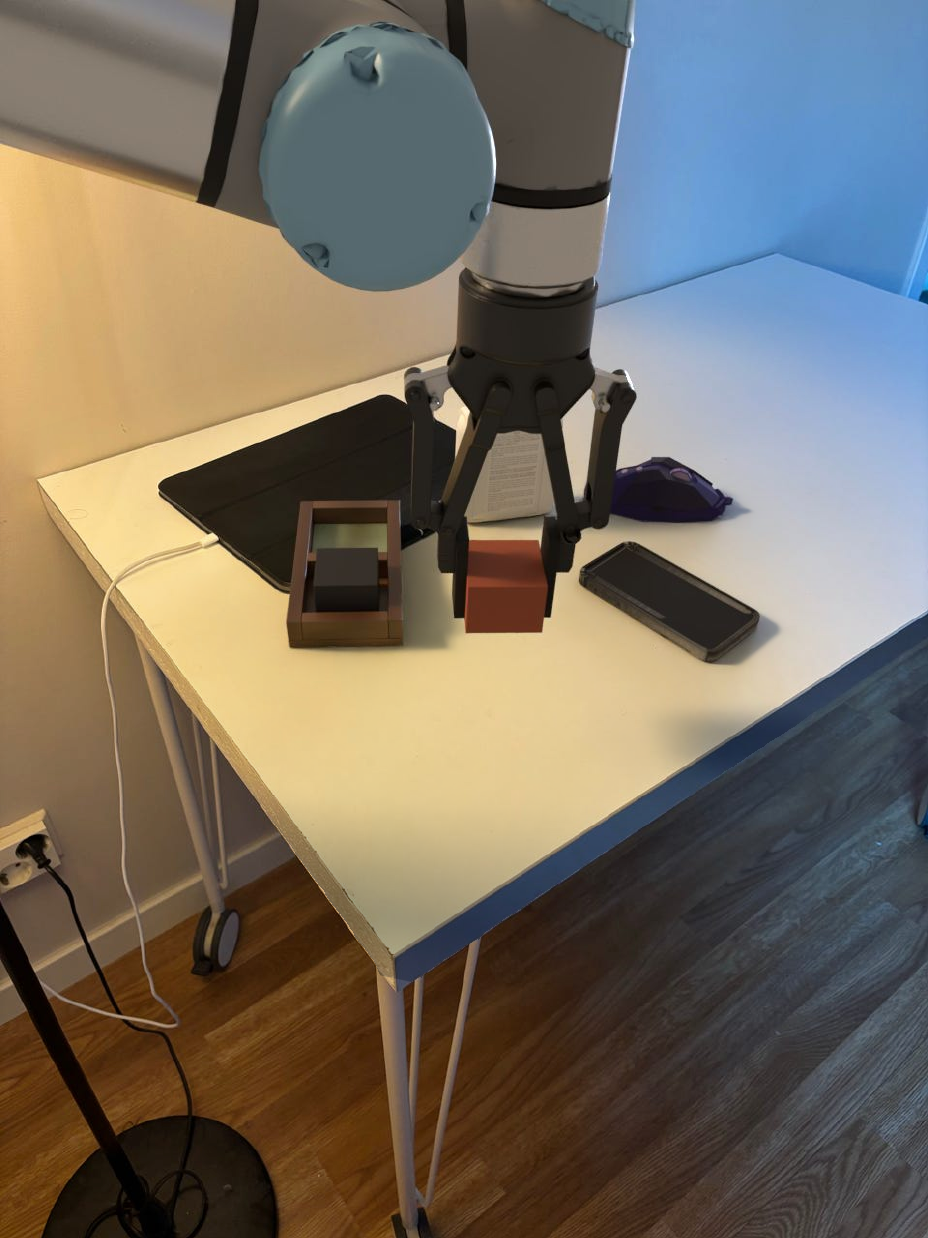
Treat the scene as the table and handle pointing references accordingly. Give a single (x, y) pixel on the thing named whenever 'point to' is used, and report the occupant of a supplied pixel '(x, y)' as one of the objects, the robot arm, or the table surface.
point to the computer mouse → (665, 493)
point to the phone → (669, 600)
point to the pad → (505, 587)
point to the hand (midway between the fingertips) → (500, 604)
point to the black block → (346, 580)
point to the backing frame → (346, 530)
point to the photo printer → (509, 477)
